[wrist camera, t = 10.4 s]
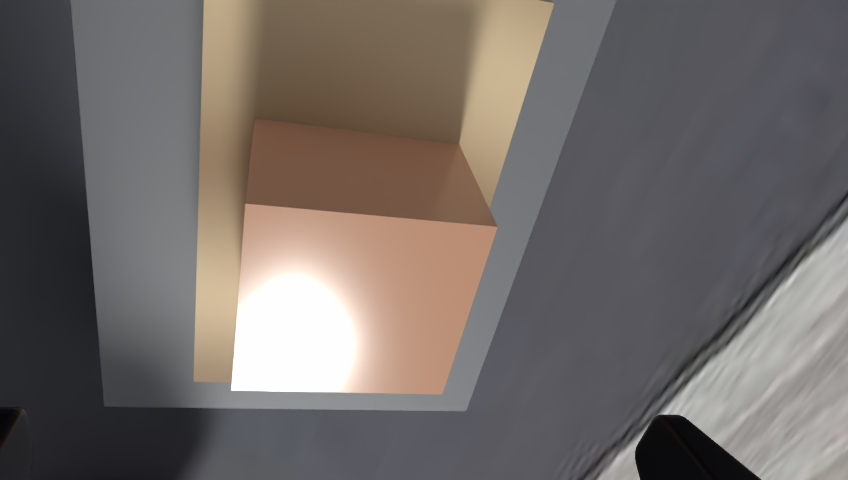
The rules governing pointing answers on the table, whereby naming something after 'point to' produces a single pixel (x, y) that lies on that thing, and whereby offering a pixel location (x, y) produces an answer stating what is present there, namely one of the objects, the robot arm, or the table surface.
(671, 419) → the robot arm
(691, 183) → the table surface
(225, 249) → the tray
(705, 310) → the table surface
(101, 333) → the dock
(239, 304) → the block
